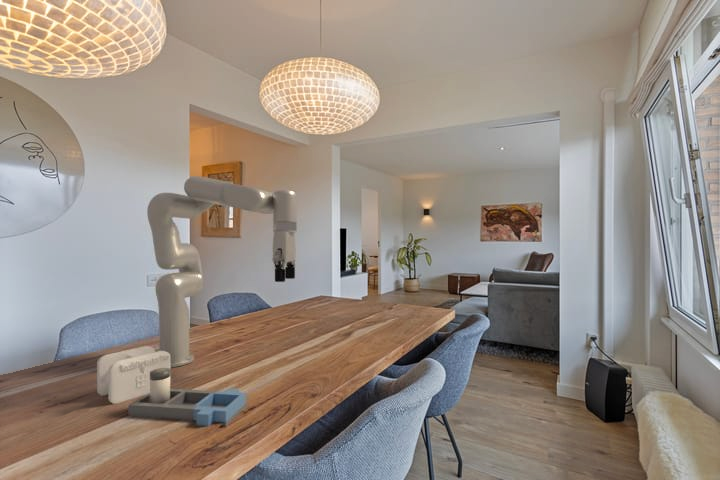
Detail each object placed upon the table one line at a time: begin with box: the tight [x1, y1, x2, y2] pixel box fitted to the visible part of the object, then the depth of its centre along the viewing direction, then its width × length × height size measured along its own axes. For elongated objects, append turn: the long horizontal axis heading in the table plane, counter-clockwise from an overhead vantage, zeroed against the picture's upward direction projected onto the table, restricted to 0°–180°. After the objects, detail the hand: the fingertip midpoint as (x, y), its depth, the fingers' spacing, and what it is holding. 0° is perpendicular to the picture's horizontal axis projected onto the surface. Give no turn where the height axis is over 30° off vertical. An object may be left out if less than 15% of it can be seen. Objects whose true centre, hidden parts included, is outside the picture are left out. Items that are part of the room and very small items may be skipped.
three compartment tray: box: [128, 388, 247, 427], centre depth 88 cm, size 25×14×4 cm, turn 81°
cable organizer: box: [96, 345, 172, 405], centre depth 99 cm, size 15×11×12 cm
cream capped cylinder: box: [150, 367, 171, 404], centre depth 89 cm, size 4×4×9 cm
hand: (285, 280), depth 116 cm, fingers open, 9 cm apart
